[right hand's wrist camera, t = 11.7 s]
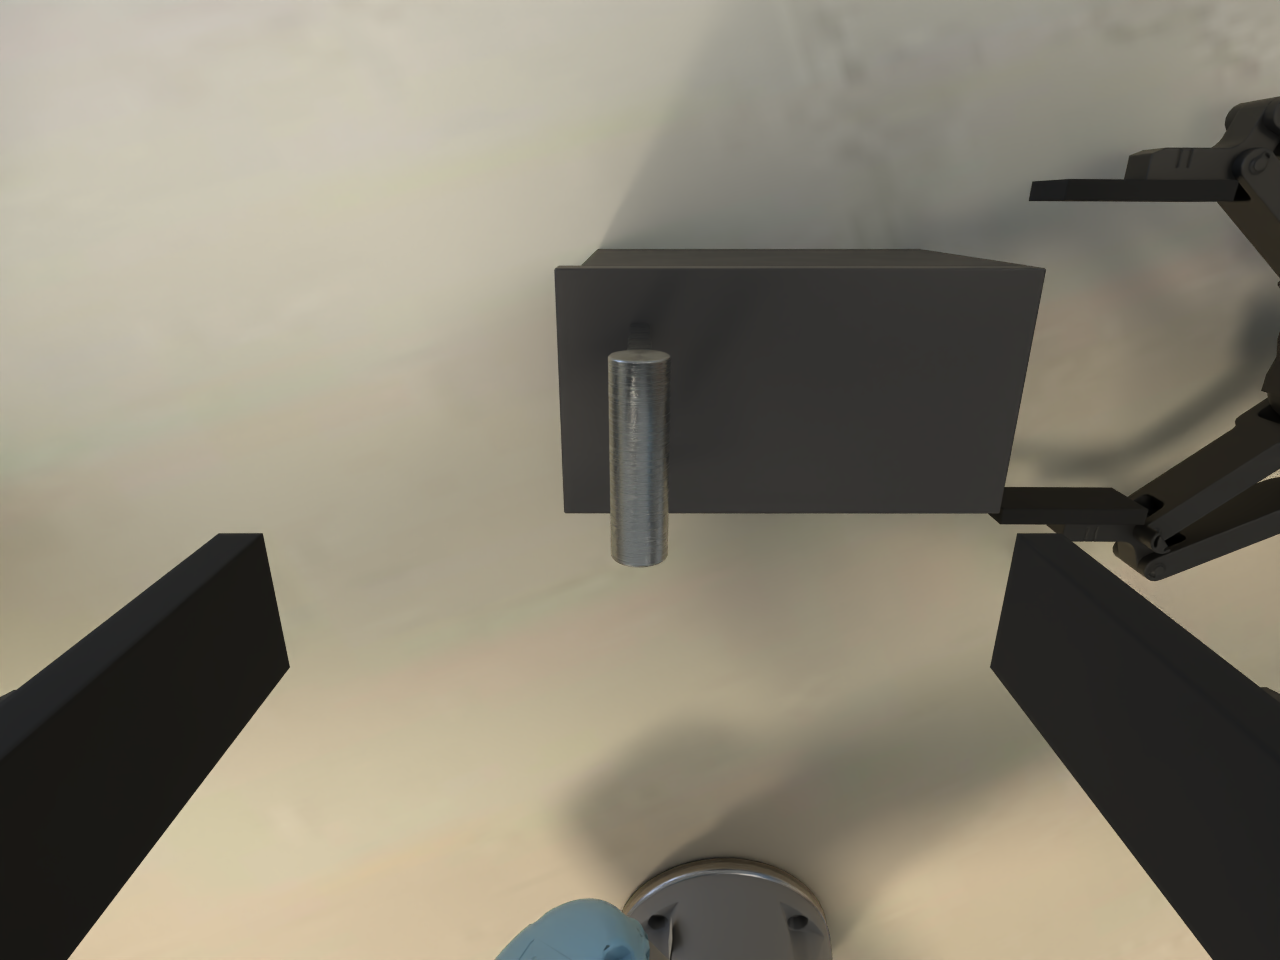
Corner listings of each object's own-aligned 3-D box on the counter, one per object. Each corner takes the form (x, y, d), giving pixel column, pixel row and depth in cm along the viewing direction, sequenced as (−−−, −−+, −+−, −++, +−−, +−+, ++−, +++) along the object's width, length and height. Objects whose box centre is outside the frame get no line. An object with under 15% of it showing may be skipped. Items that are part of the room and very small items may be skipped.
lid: (567, 502, 29) (537, 619, 21) (557, 265, 26) (519, 293, 18) (986, 502, 29) (1124, 619, 21) (1029, 265, 26) (1213, 293, 17)
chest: (600, 426, 39) (586, 501, 29) (597, 249, 36) (579, 265, 26) (897, 426, 39) (985, 501, 29) (920, 249, 36) (1028, 265, 26)
